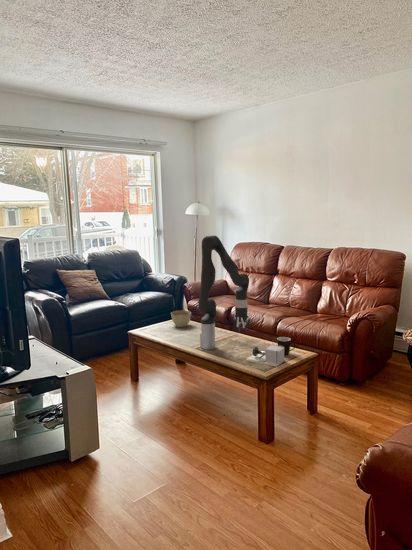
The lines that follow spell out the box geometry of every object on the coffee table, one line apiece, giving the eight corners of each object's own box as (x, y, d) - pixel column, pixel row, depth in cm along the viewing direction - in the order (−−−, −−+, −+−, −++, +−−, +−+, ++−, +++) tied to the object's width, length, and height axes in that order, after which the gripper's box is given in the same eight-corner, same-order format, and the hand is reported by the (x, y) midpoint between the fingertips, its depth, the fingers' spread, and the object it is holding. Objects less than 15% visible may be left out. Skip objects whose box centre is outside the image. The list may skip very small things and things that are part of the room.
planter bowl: (191, 328, 322) (191, 314, 320) (171, 329, 321) (170, 315, 319) (191, 322, 337) (191, 310, 336) (171, 323, 337) (171, 310, 335)
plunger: (250, 358, 248) (250, 349, 247) (256, 354, 255) (256, 345, 254) (272, 362, 240) (272, 353, 240) (278, 358, 248) (278, 349, 247)
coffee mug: (274, 353, 262) (274, 338, 260) (285, 351, 265) (285, 336, 264) (284, 359, 251) (284, 343, 250) (296, 356, 255) (296, 341, 253)
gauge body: (246, 360, 250) (245, 346, 248) (254, 354, 260) (254, 341, 258) (277, 366, 239) (277, 352, 237) (285, 360, 249) (285, 346, 247)
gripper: (228, 306, 253) (228, 333, 256) (248, 308, 246) (249, 336, 249) (234, 303, 260) (234, 330, 262) (254, 306, 252) (254, 333, 255)
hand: (241, 332), depth 255 cm, fingers open, 3 cm apart
